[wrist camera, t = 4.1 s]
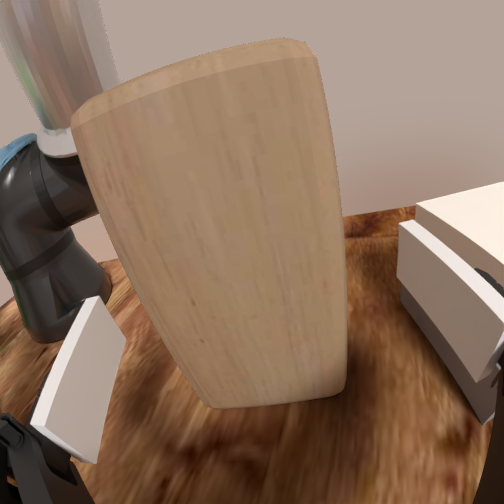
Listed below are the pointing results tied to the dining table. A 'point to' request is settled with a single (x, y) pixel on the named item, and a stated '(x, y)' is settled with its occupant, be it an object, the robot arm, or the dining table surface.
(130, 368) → the dining table surface
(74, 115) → the wooden block
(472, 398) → the tower base
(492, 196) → the tower top
